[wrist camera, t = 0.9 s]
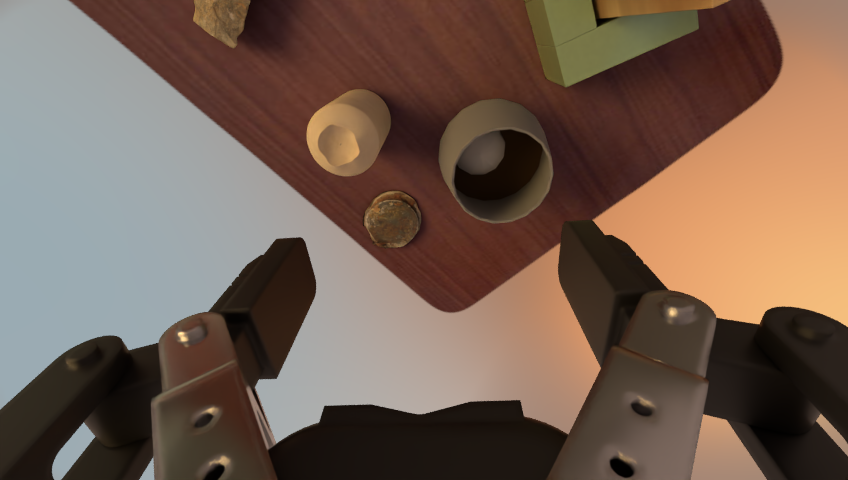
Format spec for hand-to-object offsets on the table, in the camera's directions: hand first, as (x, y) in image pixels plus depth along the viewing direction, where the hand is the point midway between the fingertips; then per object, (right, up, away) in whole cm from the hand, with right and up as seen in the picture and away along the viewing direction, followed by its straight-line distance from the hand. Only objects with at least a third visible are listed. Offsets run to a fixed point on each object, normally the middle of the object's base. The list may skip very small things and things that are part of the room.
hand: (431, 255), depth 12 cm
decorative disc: (-4, +3, +30) cm, 30 cm away
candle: (-6, +12, +24) cm, 28 cm away
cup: (+6, +10, +25) cm, 27 cm away
